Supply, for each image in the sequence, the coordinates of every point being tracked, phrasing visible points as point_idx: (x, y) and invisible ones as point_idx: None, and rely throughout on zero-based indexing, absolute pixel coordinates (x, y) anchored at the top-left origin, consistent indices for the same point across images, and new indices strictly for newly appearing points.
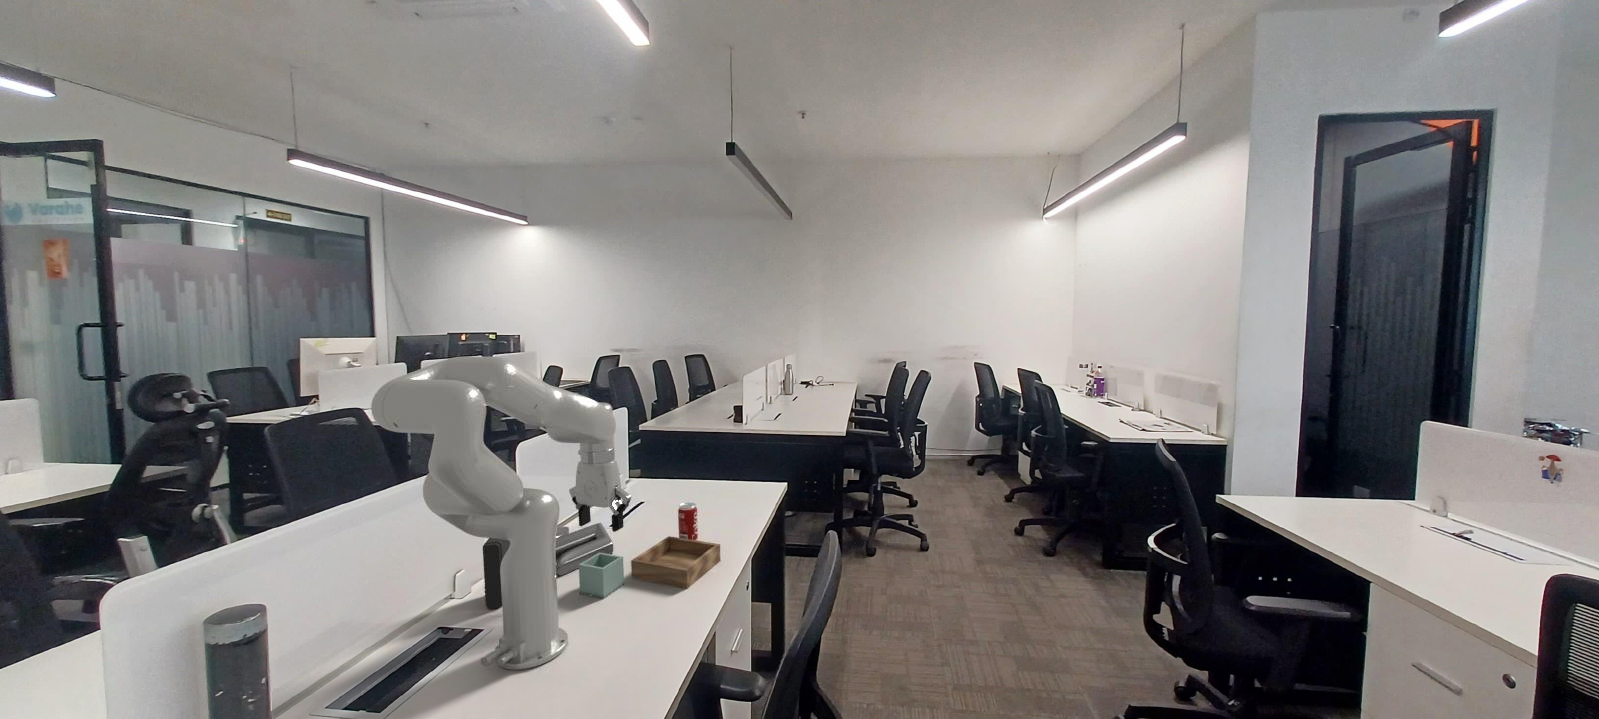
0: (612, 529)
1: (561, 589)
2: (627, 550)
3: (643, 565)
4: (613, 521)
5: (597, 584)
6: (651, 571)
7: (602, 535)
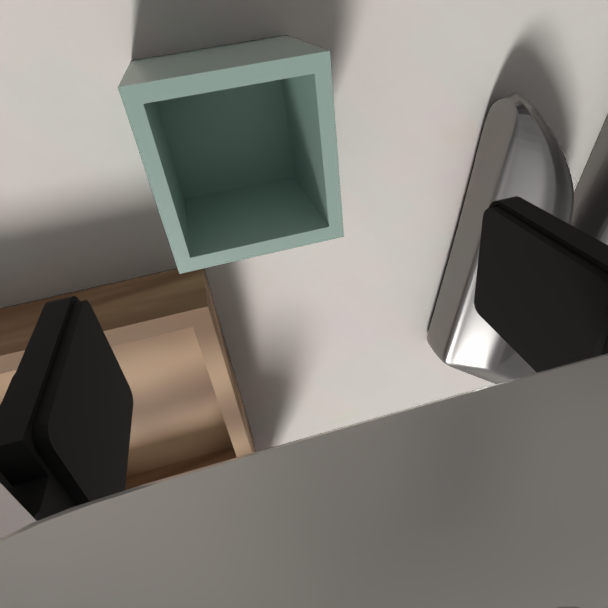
0: (66, 303)
1: (400, 18)
2: (393, 373)
3: (134, 315)
4: (19, 375)
5: (171, 63)
6: None
7: (508, 368)
